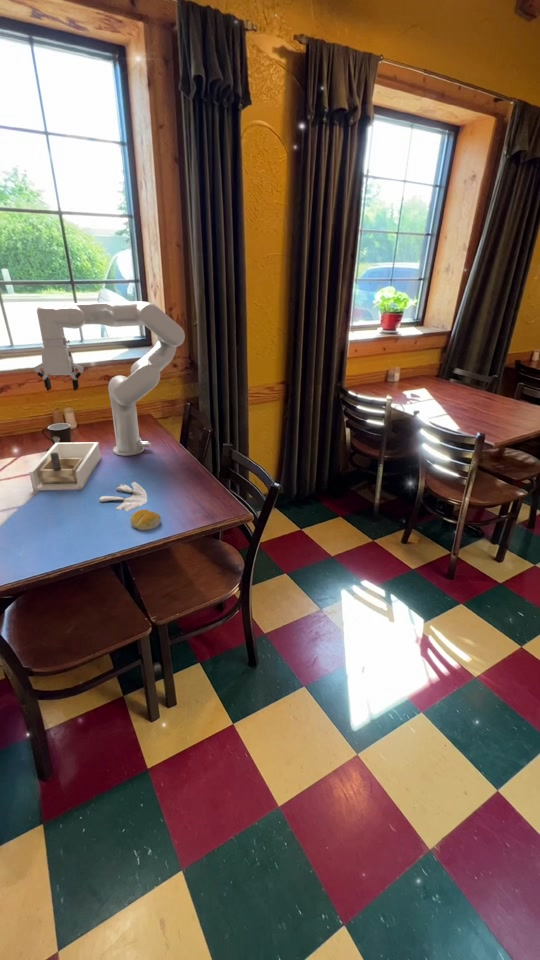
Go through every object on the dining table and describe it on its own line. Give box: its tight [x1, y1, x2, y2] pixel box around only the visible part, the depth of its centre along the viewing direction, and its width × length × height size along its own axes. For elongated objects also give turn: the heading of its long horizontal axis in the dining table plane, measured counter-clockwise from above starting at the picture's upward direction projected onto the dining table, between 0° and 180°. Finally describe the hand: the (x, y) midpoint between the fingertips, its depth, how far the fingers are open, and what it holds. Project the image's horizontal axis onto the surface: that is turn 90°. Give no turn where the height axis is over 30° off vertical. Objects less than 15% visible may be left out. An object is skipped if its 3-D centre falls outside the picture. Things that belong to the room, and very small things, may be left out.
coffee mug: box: [41, 422, 72, 446], centre depth 187 cm, size 12×9×10 cm
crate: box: [39, 453, 84, 484], centre depth 158 cm, size 12×12×11 cm
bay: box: [28, 441, 102, 491], centre depth 165 cm, size 16×28×7 cm, turn 6°
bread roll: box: [130, 509, 161, 531], centre depth 136 cm, size 8×9×4 cm
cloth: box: [99, 481, 148, 512], centre depth 152 cm, size 20×22×2 cm
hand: (62, 389), depth 167 cm, fingers open, 9 cm apart
